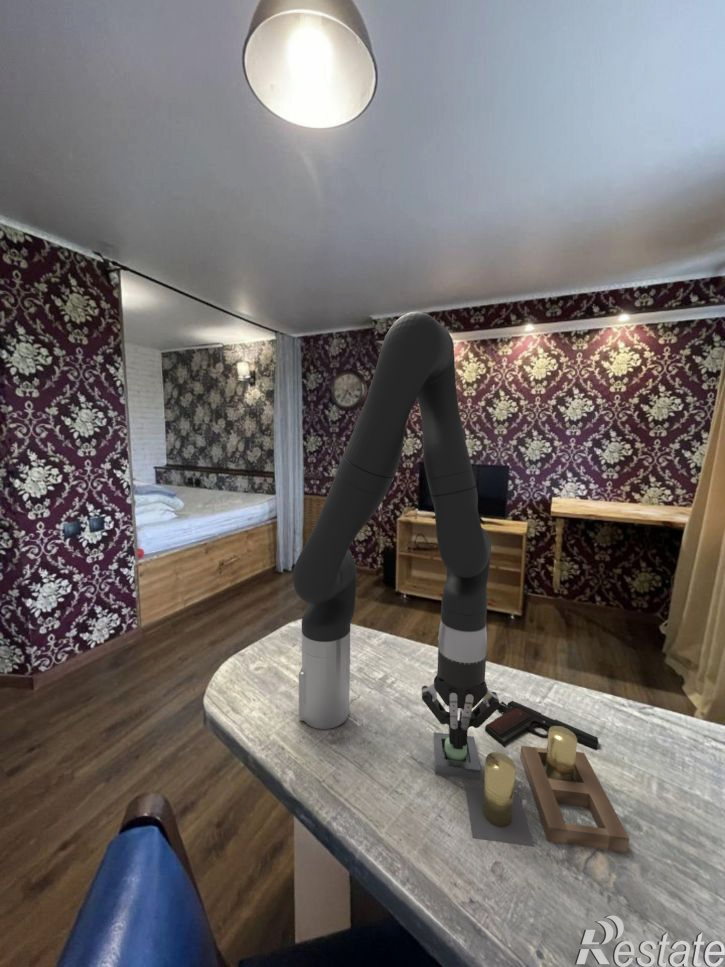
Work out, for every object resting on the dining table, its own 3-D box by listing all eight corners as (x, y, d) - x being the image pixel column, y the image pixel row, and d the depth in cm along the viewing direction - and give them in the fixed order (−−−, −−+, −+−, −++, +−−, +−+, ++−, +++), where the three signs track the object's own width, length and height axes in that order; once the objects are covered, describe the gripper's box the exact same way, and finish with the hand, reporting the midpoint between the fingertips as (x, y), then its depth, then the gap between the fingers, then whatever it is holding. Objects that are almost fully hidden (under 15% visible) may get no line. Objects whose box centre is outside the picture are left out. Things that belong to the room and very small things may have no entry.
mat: (472, 840, 54) (472, 837, 54) (464, 787, 61) (465, 785, 61) (534, 849, 53) (534, 846, 53) (518, 794, 60) (518, 792, 60)
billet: (485, 825, 55) (488, 774, 54) (480, 799, 59) (483, 750, 58) (514, 829, 55) (518, 777, 54) (508, 802, 59) (511, 754, 58)
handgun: (591, 784, 61) (599, 733, 71) (482, 730, 71) (501, 692, 81) (589, 796, 62) (597, 745, 71) (480, 741, 72) (500, 702, 81)
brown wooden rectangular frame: (547, 843, 53) (548, 827, 53) (520, 759, 67) (521, 745, 67) (627, 854, 52) (629, 838, 52) (582, 766, 66) (584, 752, 65)
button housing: (435, 776, 64) (435, 764, 63) (433, 742, 70) (433, 732, 70) (479, 781, 63) (480, 770, 62) (473, 746, 70) (474, 736, 69)
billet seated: (549, 790, 61) (553, 743, 60) (541, 768, 65) (545, 724, 64) (576, 793, 61) (581, 746, 60) (567, 771, 65) (571, 727, 64)
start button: (445, 762, 65) (445, 751, 65) (443, 745, 68) (444, 735, 68) (467, 765, 64) (468, 754, 64) (465, 748, 68) (465, 737, 68)
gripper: (420, 657, 61) (417, 758, 63) (510, 664, 59) (503, 768, 61) (420, 633, 68) (417, 724, 70) (499, 638, 67) (494, 732, 69)
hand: (457, 745), depth 66 cm, fingers closed
